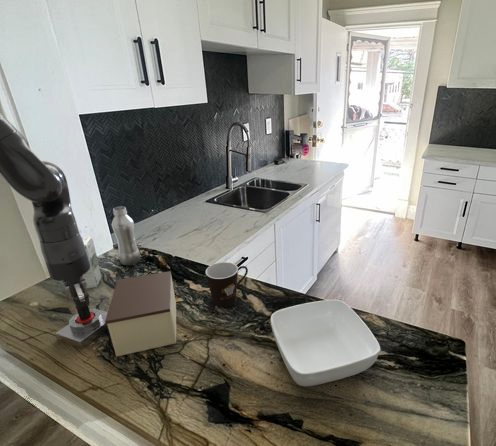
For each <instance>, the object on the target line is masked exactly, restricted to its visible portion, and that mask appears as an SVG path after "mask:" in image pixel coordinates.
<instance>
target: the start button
mask: <svg viewBox="0 0 496 446" xmlns="http://www.w3.org/2000/svg"><path fill="white" fill-rule="evenodd" d="M90 314H91V317H89V318H86V319H84V320H81V319H80V317H78V318H77V319H76V321H77V323H78V324H82V323H86V322H89V321H91V320H92V319H93V318H94V314H93V313H90Z"/></svg>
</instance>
